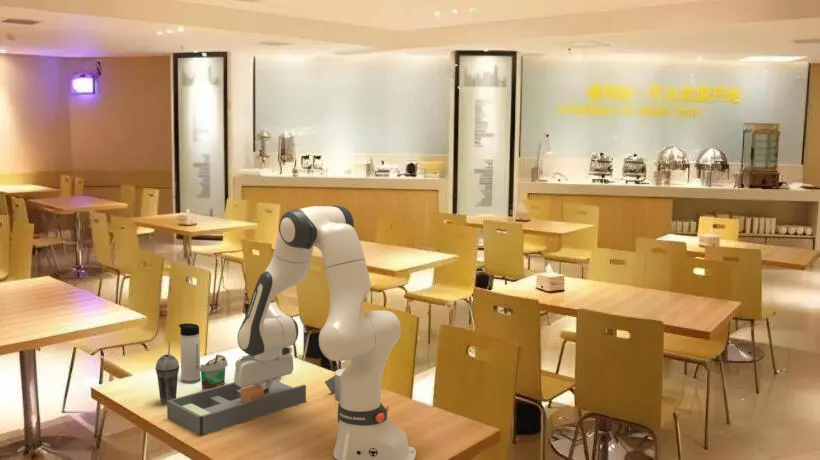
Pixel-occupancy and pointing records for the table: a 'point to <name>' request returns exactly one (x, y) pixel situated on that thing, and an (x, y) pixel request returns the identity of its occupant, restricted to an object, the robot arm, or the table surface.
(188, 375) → the travel mug
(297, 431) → the table surface
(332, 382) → the toilet tissue
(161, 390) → the beverage cup
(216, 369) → the food container
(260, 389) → the terracotta block
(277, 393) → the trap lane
